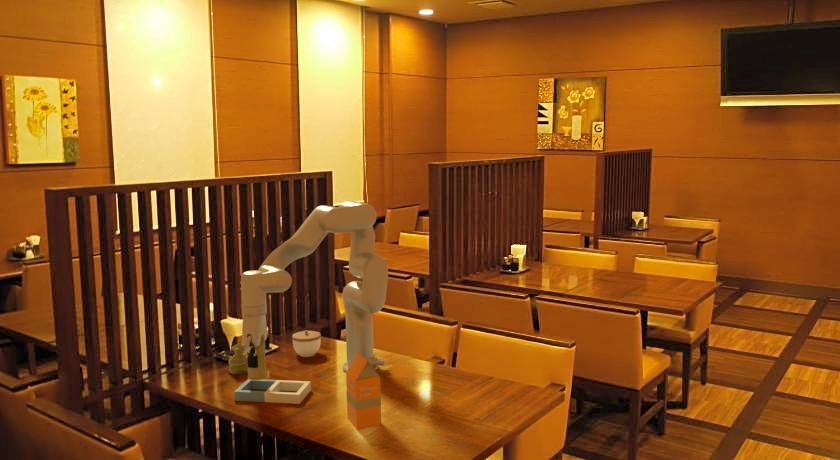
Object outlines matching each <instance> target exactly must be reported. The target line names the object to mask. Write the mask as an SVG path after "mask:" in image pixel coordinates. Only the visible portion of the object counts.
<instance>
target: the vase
mask: <svg viewBox="0 0 840 460" xmlns="http://www.w3.org/2000/svg"><path fill="white" fill-rule="evenodd" d="M251 346H254V344H251ZM251 349H252V350H253V351H254V348H251ZM256 355H258V368H249V367H248V373H247V380H248V379H250V380H262V379H266V378H267V377H268V372H267V363H266V361H267V360H265V358H266V345H265V346H264V334H263V335H262V336H261V342H260V345H259V346H257V354H256Z"/></svg>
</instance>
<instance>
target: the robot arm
mask: <svg viewBox="0 0 840 460" xmlns="http://www.w3.org/2000/svg"><path fill="white" fill-rule="evenodd" d="M311 211H312V212H311V213H310V214H309V216H307V218H306V219H305V220H304V221H303V223H302V224H301V225H300V226H299V228H298V229H297V230H296V232H295V233H294V234H293V235H292V236H291V237H290V238H289V239H287V240H285V241H284V242H283V243H282V244H281V245H279V246H278V247H276V248H275V249H274V250H273V251H271V253H269V254H268V256H267V257H266V259H265V260H263V262H262V263H261V265H260V266H259V267H258V270H247V271H244V272H242V273H241V276H240V284H241V285H240V286H241V287H240V289H241V308H242V326H241V327H242V328H241V341H242V342H241V345H243V347H245V350H244V351H245V352H246V356H247V357H248V367H249V368H258V355H256V354H257V346H259V345H260V342H261V336H262V335H263V334H264V346H265V347H266V341H267V337H268V327H267V326H268V324H267V313H268V310H267V293H270V294H271V293H284V292H285V291H287V290H288V289H290V287H291V285H292V281H293V279H292V276H291V274H290V273H289V272H288V271H286V270H285V269H286V268H287V267H288V266H289V265H290V264H291V263H293V262H294V261H296V260H298V259H301V258H305V257H307V256H309V255H312V254H313V253H314V252H315V250H316V249H317V247H318V246H319V245H320V244H321V243H322V241H323V240H324V239H325V238H326V237H327V235H328V234H329V233H333V234H343V233H349V234H350V247H349V248H350V250H349V258H348V259H349V261H348V269H349V273H350V274H351V275H352V276H353V277H355V278H358V279H361V280H362V281H358V280H354V281H350V282H349V283H347V284H346V285H345V287H343V291H342V294H341V296H342V297H341V299H342V303H343V308H344V313H345V315H344V316H345V338H346V339H345V342H346V344H345V345H346V347H345V348H346V362H345V363H343V364H342V370H343V371H344V372H345V373H346V371H347V370H348V368H349V367H350V365H351V363H352V362H353V360H354V358H355V357H356V355H357V353H360V354H361V355H362V356H363V357H364V358H365V359H366V360H367V361H368V362H369V363H370V364H371V366H372V367H373V368H374V370H375V371H377V370H378V369H379V366H386V360H384V358H382V357H381V358H378V357H376V356H377V355H376V353H374V324H373V323H374V319H373V315H374V314H377V313H379V312H380V311H382V309H383V308H384V306H385V302H386V299H387V289H388V281H389V280H388V278H389V267H388V262H387V261H386V259H385V258H384V257H383V256H382V255H380V254H377V253H375V252H376V232H375V229H374V224H375V223H376V220H377V219H378V218H377V214H378V213H377V211H376V209H375V208H374V206H373V205H371V204H370V203H366V202H360V201H351V200H346V201H343V202H341V203H340V204H339V206H337V207H336V206H330V205H325V204H324V205H319V206H317V207H315V208H314V209H313V210H311ZM251 344H254V346H251ZM251 348H254V351H253V350H252V349H251ZM265 360H266V357H265ZM266 361H267V360H266Z"/></svg>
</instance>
